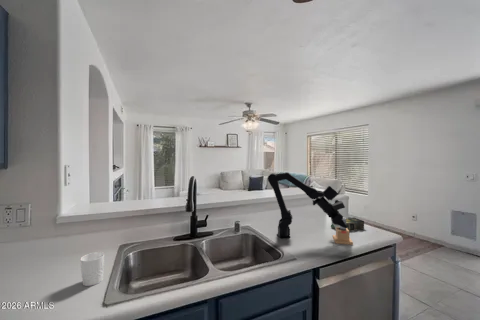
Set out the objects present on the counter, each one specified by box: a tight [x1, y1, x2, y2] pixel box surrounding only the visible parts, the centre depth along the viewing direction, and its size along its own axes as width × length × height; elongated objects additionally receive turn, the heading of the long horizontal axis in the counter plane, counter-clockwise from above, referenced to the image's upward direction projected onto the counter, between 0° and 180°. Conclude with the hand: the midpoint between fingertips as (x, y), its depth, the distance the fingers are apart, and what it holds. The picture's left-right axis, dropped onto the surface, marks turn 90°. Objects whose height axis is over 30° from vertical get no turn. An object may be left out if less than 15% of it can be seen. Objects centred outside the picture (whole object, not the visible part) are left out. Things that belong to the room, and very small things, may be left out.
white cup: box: [80, 251, 105, 287], centre depth 87 cm, size 8×8×10 cm
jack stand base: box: [332, 227, 354, 246], centre depth 128 cm, size 9×9×7 cm
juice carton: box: [330, 217, 365, 232], centre depth 150 cm, size 20×10×6 cm, turn 106°
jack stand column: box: [339, 217, 346, 230], centre depth 128 cm, size 3×3×12 cm
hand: (345, 225), depth 128 cm, fingers open, 7 cm apart
